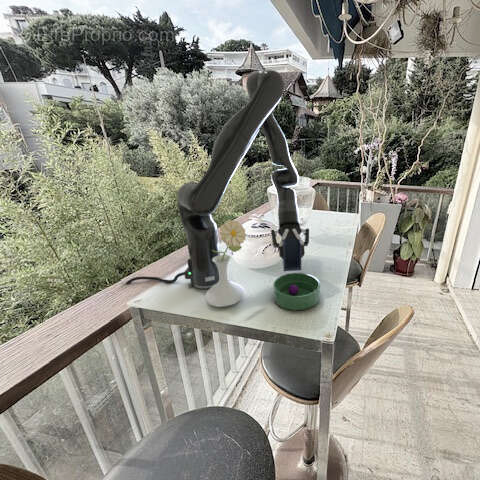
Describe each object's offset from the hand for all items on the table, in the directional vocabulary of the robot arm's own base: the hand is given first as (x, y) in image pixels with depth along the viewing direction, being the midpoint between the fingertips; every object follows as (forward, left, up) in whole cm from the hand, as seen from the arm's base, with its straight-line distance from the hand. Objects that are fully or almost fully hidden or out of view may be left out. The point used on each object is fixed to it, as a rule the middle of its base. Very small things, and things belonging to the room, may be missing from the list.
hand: (292, 257), depth 92 cm
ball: (+1, -12, -6) cm, 13 cm away
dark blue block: (0, +2, -4) cm, 5 cm away
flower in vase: (-19, -12, -8) cm, 24 cm away
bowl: (+2, -12, -8) cm, 15 cm away
